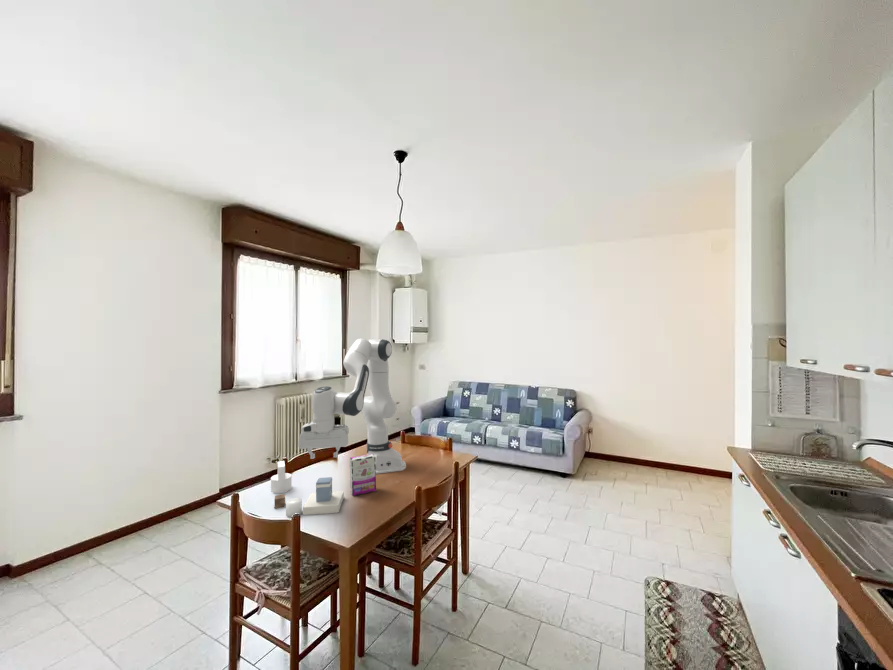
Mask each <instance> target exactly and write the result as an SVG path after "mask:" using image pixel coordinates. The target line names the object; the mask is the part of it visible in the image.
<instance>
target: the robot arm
mask: <svg viewBox="0 0 893 670" xmlns="http://www.w3.org/2000/svg"><path fill="white" fill-rule="evenodd" d="M392 347H393V346H392V343H391V342H390V341H389V340H388V339H379V338H369V339H367V338H363V337H360V338H356V339H355V340H354V342H353V343H352V344H351V345H350V346H349V349H348V350H347V352H346V354H345V357H344V358H343V367H344V369H345V372H347V373H349V374H350V375H352V376H354V377H355V378H356V380H355V383H354V387H353V389H352V391H349V392H341V391H336V390H334V389H333V388H332V387H331V386H321V387H317V388H316V389H314V391H313V394H312V403H311V405H312V406H311V407H312V412H313V413H312V415H313V417H312V421H310V422H308V423H305V424H303V425H302V426H301V428H300V432H301V433H300V434H299V436H298V437H299V438H298V448H299V449H300V450H306V449H307V452H308V455H310V458H309V459H311V460H312V459H315V458H316V453H313V451H312V450H313V449H327V448H335V450H336V451H335V452H334V451H333V458H338V455H339V454H338V453H339V451H340V449H341V448H345V447H347V446H348V445H349V436H348V435H349V433H350V432H349V431H350V428H349V426H348V425H345V424H335V415H334V414H336V415H346V416H351V417H355V416H357V415H358V414H360V412H361V414H362V415H363V418H364V422H365V425H366V431H367V435H366V436H367V442H366V455H368V454H373V455H374V456H375V465H376V475H379V474H386V473H393V472H401V471H404V470H405V469H406V468H407V464H406V462H405V461H404V460H403V458H402V455H401V453H400V452H399V451H397V450H395V449H394V448H393V444H392V441H389V436H388V435H389V434H388V433H389V431H388V430H389V429H388V425H387V424H386V422H385V421H384V419H391V418H393V417H394V416H395V415H396V413H397V409H398V408H397V403H396V401H394V400H393V397H392V395H391V392H390V387H389V368H390V367H389V358H390V357H391V356H392V353H393V348H392ZM367 387H368V388H369V389H370V390H371V394H372V395H368V396H367V395H366V390H367ZM365 395H366V396H365Z"/></svg>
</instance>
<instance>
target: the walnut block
mask: <svg viewBox="0 0 893 670" xmlns="http://www.w3.org/2000/svg"><path fill="white" fill-rule="evenodd" d="M282 508H286V494H285V493H281V494H278V495H277V494H276V495H274V509H275V510H276V509H282Z"/></svg>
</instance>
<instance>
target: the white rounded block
mask: <svg viewBox="0 0 893 670" xmlns="http://www.w3.org/2000/svg"><path fill="white" fill-rule="evenodd" d="M295 513H299V514H300V515H301V514H303V500H302V498H300V497H294V498H289V499H288V500H287V501H285V517H287V518H288V517H289V518H292V517H291V516H292V515H293V514H295Z"/></svg>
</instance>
